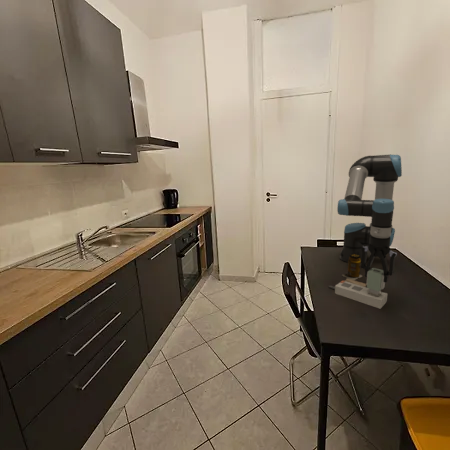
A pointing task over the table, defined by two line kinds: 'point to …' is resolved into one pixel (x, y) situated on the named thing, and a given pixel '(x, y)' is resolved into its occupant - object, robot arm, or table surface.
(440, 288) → the table surface
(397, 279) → the table surface
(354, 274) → the condiment
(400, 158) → the robot arm
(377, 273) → the block
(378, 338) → the table surface
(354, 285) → the power strip
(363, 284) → the cork coaster
